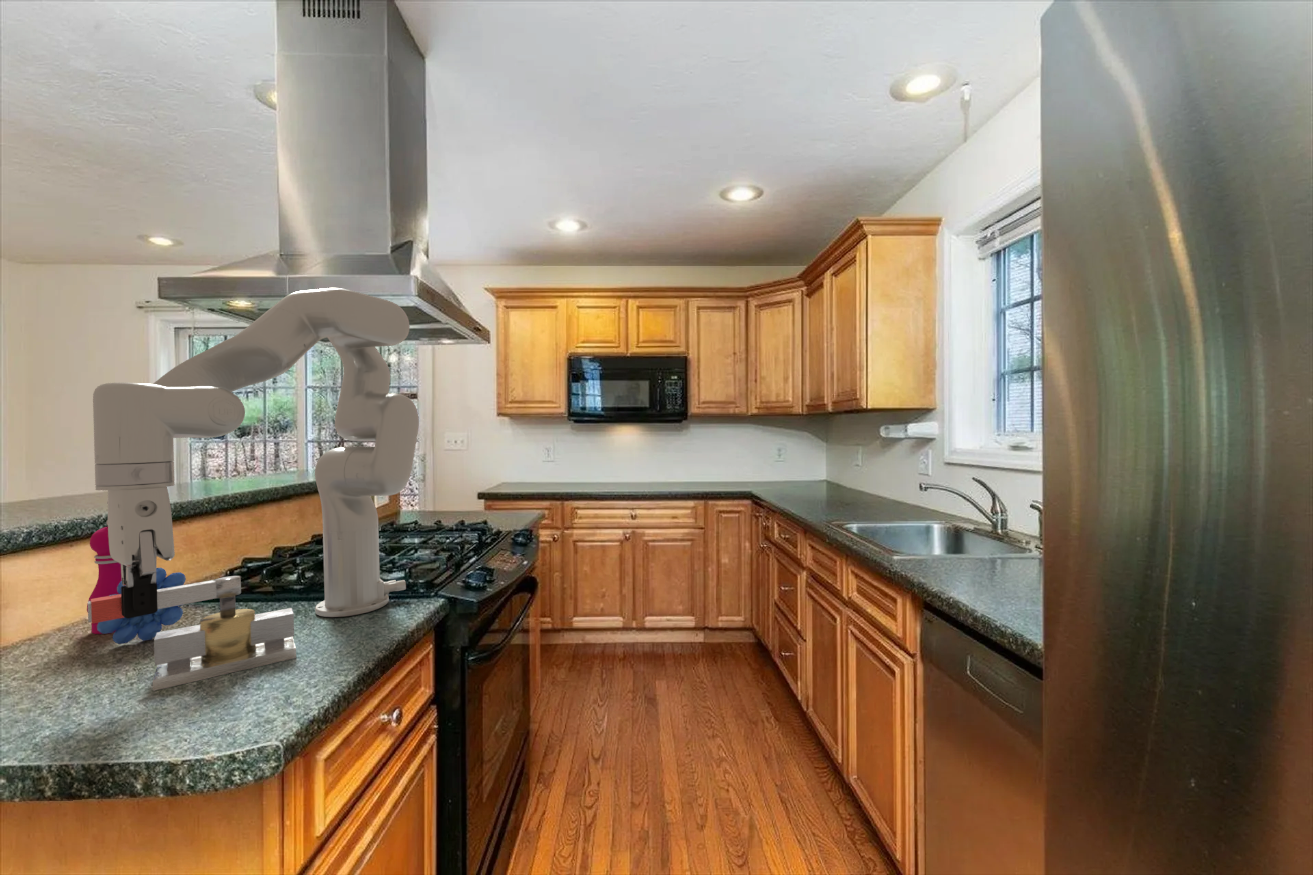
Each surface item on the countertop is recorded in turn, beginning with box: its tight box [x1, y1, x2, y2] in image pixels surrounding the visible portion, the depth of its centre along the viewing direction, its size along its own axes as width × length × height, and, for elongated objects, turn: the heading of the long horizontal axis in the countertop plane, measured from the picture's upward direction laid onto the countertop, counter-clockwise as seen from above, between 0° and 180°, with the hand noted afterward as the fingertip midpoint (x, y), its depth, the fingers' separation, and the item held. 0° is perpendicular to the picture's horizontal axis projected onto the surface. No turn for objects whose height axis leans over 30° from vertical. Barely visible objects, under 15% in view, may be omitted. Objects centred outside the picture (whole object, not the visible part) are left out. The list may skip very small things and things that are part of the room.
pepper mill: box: [86, 519, 122, 635], centre depth 96 cm, size 7×7×20 cm
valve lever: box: [87, 575, 242, 624], centre depth 75 cm, size 16×3×3 cm, turn 137°
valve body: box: [152, 595, 297, 692], centre depth 80 cm, size 16×9×10 cm, turn 128°
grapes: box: [97, 567, 187, 645], centre depth 91 cm, size 12×7×12 cm, turn 136°
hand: (139, 614), depth 71 cm, fingers closed
